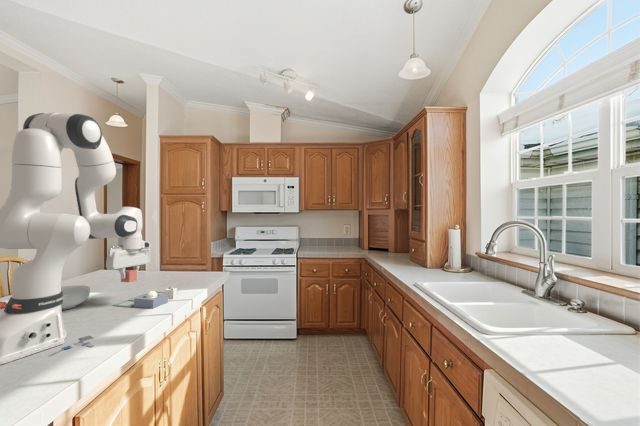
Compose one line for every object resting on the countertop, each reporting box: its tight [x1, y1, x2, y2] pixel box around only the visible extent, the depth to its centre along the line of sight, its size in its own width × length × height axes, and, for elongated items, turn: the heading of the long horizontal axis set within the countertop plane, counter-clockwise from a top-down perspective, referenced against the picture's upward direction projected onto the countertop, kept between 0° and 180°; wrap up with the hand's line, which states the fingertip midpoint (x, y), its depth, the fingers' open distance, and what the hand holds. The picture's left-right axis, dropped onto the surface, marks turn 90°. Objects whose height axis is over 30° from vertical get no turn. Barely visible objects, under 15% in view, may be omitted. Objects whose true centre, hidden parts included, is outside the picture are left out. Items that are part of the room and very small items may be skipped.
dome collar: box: [133, 293, 169, 309], centre depth 131 cm, size 9×9×4 cm
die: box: [163, 287, 178, 300], centre depth 142 cm, size 4×4×5 cm
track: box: [112, 290, 164, 308], centre depth 139 cm, size 23×9×1 cm, turn 169°
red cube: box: [120, 269, 138, 283], centre depth 131 cm, size 4×4×4 cm
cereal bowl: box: [61, 285, 91, 311], centre depth 125 cm, size 17×17×7 cm
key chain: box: [48, 335, 95, 357], centre depth 91 cm, size 14×8×1 cm, turn 4°
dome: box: [145, 290, 157, 298], centre depth 131 cm, size 4×4×5 cm
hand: (129, 277), depth 131 cm, fingers closed on red cube, 4 cm apart
